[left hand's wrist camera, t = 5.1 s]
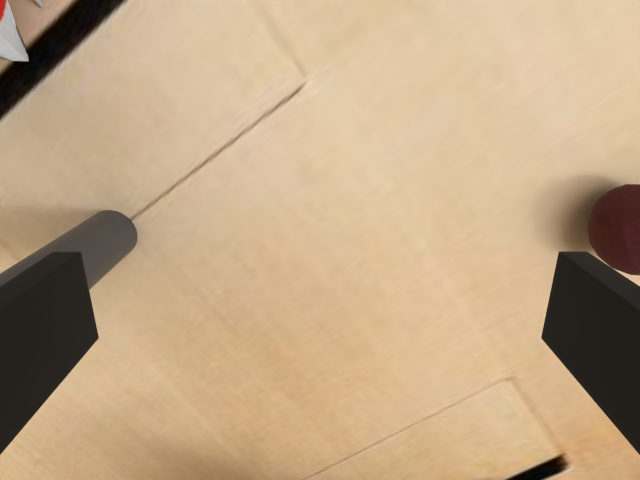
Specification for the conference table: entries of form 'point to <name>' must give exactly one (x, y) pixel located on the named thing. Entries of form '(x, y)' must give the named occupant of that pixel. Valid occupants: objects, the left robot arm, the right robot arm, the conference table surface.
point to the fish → (11, 35)
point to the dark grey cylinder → (88, 246)
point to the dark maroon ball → (618, 229)
